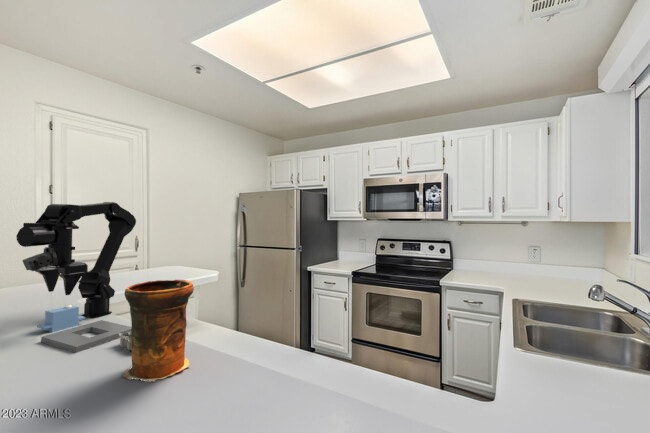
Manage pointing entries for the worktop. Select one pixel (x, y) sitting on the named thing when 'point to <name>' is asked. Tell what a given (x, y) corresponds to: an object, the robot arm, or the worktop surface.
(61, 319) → the servo
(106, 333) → the chassis
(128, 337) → the egg carton
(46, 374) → the worktop surface
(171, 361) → the vessel
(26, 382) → the worktop surface
